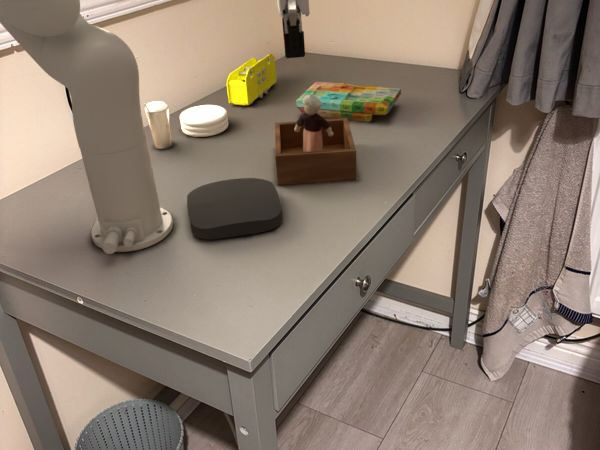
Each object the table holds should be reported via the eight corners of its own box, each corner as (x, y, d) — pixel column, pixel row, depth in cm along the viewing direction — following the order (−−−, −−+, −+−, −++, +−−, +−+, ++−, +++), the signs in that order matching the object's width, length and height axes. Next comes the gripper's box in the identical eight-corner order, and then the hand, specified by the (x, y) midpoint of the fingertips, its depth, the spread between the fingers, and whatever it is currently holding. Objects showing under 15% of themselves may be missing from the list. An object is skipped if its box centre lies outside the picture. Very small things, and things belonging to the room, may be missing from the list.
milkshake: (144, 150, 127) (135, 102, 122) (161, 139, 131) (153, 93, 126) (162, 153, 125) (153, 105, 120) (179, 143, 129) (171, 95, 124)
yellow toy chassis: (250, 108, 143) (246, 72, 139) (228, 106, 145) (223, 70, 141) (278, 85, 156) (276, 51, 151) (257, 83, 158) (254, 49, 153)
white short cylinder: (232, 133, 132) (231, 117, 130) (185, 141, 130) (182, 125, 128) (224, 116, 140) (222, 101, 138) (178, 123, 138) (176, 108, 136)
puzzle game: (314, 78, 144) (401, 85, 138) (315, 98, 147) (400, 105, 140) (295, 96, 135) (387, 104, 128) (296, 117, 138) (387, 126, 131)
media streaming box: (192, 245, 97) (189, 228, 95) (187, 199, 109) (185, 184, 107) (287, 230, 99) (285, 214, 97) (272, 187, 111) (270, 172, 109)
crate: (356, 179, 112) (356, 150, 109) (277, 185, 111) (275, 156, 109) (347, 144, 124) (347, 117, 121) (277, 149, 124) (274, 122, 121)
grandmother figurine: (291, 163, 117) (287, 97, 110) (297, 154, 120) (293, 90, 113) (332, 167, 115) (330, 100, 108) (337, 158, 118) (335, 92, 111)
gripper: (314, -56, 91) (320, 62, 100) (307, -72, 105) (313, 32, 114) (261, -52, 91) (272, 66, 100) (262, -69, 105) (271, 35, 114)
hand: (294, 48), depth 107 cm, fingers open, 9 cm apart
